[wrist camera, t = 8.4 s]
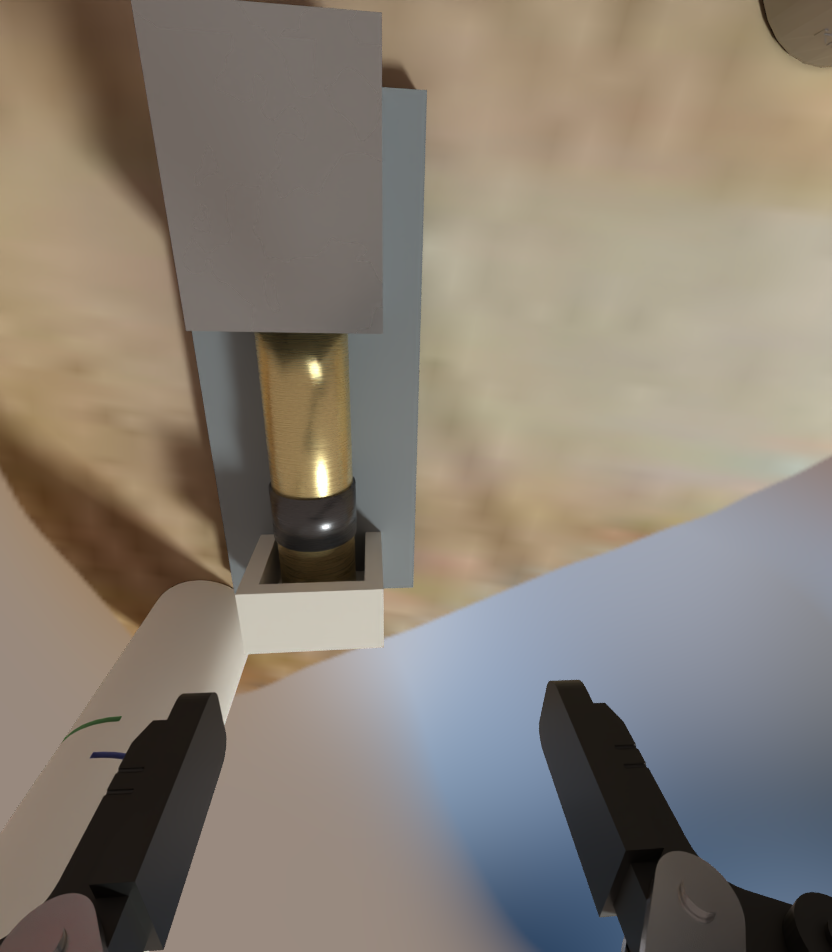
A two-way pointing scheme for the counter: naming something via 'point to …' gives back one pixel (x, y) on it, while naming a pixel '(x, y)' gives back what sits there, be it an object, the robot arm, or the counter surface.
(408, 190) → the board
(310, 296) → the sleeve
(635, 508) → the counter surface
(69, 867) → the robot arm
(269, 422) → the tube
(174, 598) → the cylindrical container
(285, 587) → the socket
